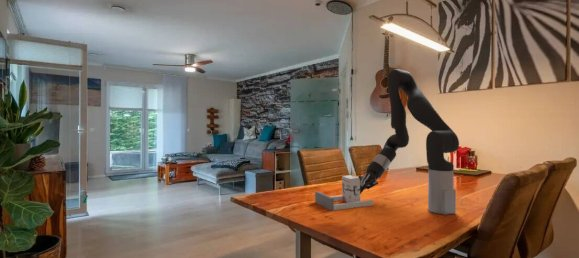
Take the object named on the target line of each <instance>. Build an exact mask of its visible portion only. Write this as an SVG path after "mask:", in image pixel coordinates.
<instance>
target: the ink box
mask: <svg viewBox="0 0 579 258" xmlns="http://www.w3.org/2000/svg"><path fill="white" fill-rule="evenodd" d="M358 177H359V176H355V175H342V176H341V184H342V185H341V186H342V196H343V200H342V202H343V203H349V202H358V201H361V194H360V179H359V178H358Z"/></svg>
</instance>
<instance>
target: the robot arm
mask: <svg viewBox="0 0 579 258" xmlns="http://www.w3.org/2000/svg"><path fill="white" fill-rule="evenodd" d="M386 86H387V90H388V97H389V98H388V99H389V103H390V128H391V129H393V130H394V133H395V134H392V135H390V136H389V137H388V138H387V140H386V142H385V144H384V146H383V148H381V150H380V151H379V153H378V154H377V155H376V156H375V157H374V158H373V159H372V161H371V162H370V163H369V164H368V166H367V167H366V172H364V174H363V175H361V174H359V175H358V176H357V177H358V178H359V179H360V195H361V194H362V193H363V192H364V190H369V189H371V188H373V187H374V186H376V185H379V182H378V179H381V177H382V176H383V175H384V173H385V172H386V171H387V169H388V168H389V166H390V165H391V163H392V162H393V161H394V159H395V158H396V156H397V150H398V149H401V148H406V147H407V146H408V144H409V142H410V136H409V131H408V128H407V110H406V108H405V105H404V103H403V100H402V99H401V96H400V91H399V90H401V91H403V92H404V94H405V95H406V97H407V99H406V107H407V109H408V111H409V113H410V114H411V115H412V117H413V119H415V120H416V121H418V123H420V124H421V125H423V126H425V127H427V128H428V129H429V130H430V132H428V133H427V136H426V139H425V149H426V151H425V152H426V163H427V166H428V167H427V168H428V170H427V172H428V177H427V178H428V179H427V180H428V181H427V182H428V183H427V184H428V185H427V188H428V189H427V192H428V194H427V195H428V196H427V198H428V199H427V200H428V201H427V204H428V205H427V207H428V208H427V210H428V212H431V213H435V214H440V215H445V216H446V215H451V214H456V212H457V211H456V210H457V209H456V205H457V204H456V198H457V197H456V195H457V194H456V192H457V190H456V188H455V189H454V169H455V168H454V167H455V166H454V164H453V162H451V161H448V160H446V158H445V156H444V155H445V154H449V153H450V154H451V153H454V152H456V151H458V149H459V146H460V140H459V138H458V135H457V133H456V132H454V130H453V129H452V128H451V127H450V126H449V125H448V124H447V123H446V122H445V120H444V119H442V117H441V116H440V115H439V113H438V112H437V110H436V109H435V107H433V105H432V104H431V102H430V101H429V99H428V98H427V97H426V96H425V94H424V93H423V92H422V90H421V89H420V87H419V86H418V84H417V82H416V80H415V78H414V76H413V75H412V73H411V72H409V71H407V70H403V69H397V68H394V69H391V70H390V71H389V73H388V74H387V79H386Z"/></svg>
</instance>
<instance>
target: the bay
mask: <svg viewBox="0 0 579 258" xmlns="http://www.w3.org/2000/svg"><path fill="white" fill-rule="evenodd" d="M314 194H315V195H314V196H315V197H314V203H315V204H318V205H319V206H322V208H325V209H326V210H329V211H338V210H344V209H345V210H346V209H354V207H355V208H362V206H363V207H370V206H371V205H372V206H373V205H374V200H372V199H371V200H360V201H358V202H349V203H346V202H343V203H334V202H339V201H338V200H341V201H343V196H342V195H341V194H340V195H331V196H329V195H327V194H325V193H323V192H320V191H318V190H317V191H315V192H314Z"/></svg>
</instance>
